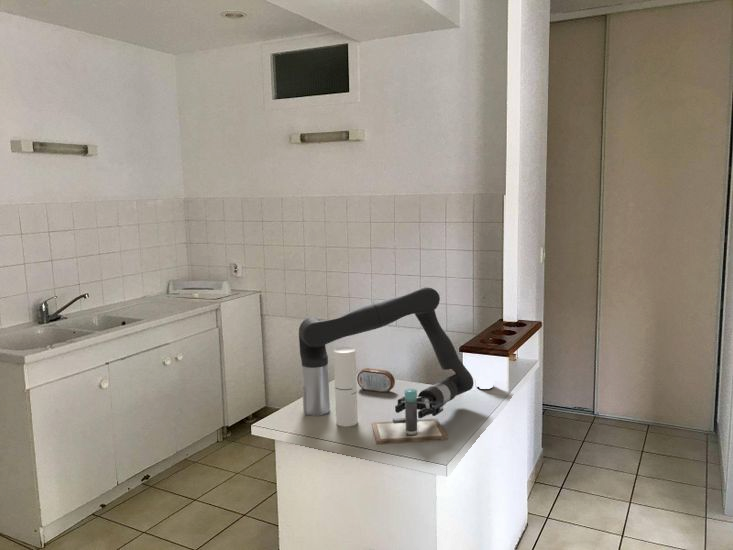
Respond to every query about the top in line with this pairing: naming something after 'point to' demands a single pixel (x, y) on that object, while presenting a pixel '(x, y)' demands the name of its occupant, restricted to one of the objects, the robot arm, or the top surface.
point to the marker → (411, 412)
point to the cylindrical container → (345, 386)
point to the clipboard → (397, 431)
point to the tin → (376, 380)
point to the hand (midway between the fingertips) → (407, 412)
